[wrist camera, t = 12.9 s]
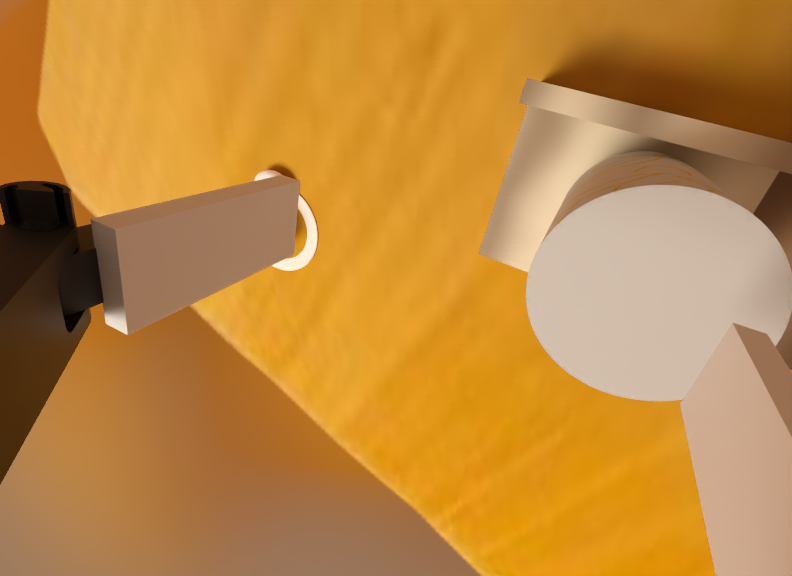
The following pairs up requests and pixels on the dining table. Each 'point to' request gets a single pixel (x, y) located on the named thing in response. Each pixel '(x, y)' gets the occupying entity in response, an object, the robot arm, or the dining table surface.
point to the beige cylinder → (652, 277)
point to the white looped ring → (311, 231)
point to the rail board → (616, 134)
